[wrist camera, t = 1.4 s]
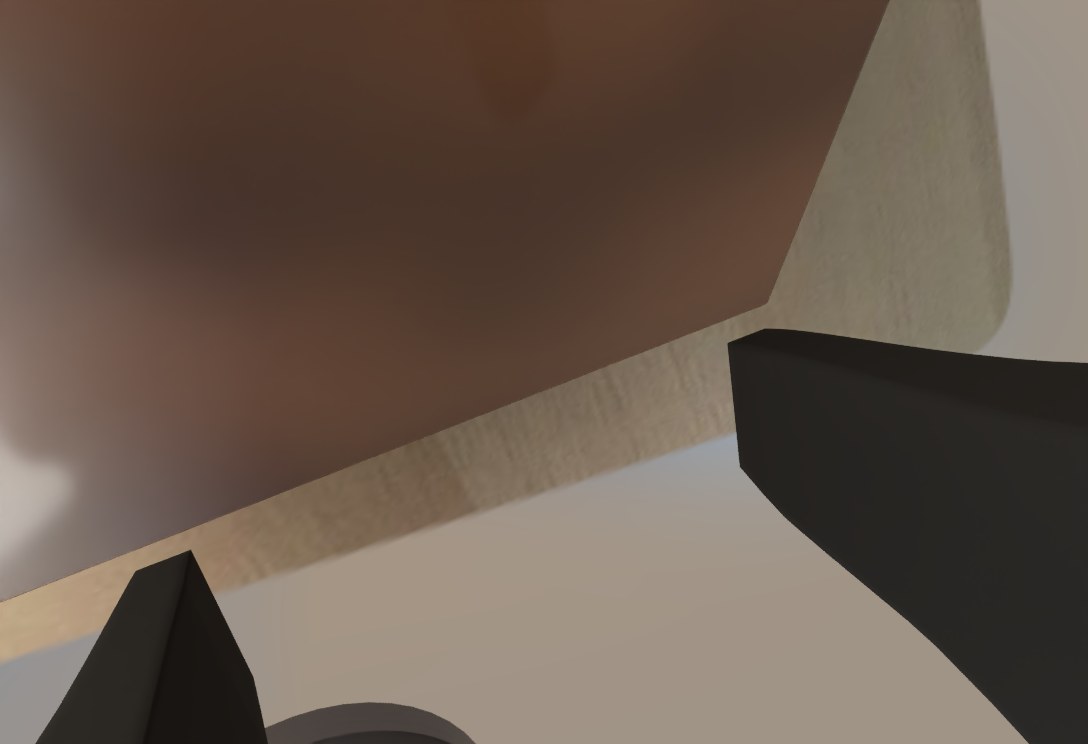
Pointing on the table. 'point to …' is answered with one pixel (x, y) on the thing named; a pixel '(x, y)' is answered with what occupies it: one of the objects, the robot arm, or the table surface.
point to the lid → (365, 228)
